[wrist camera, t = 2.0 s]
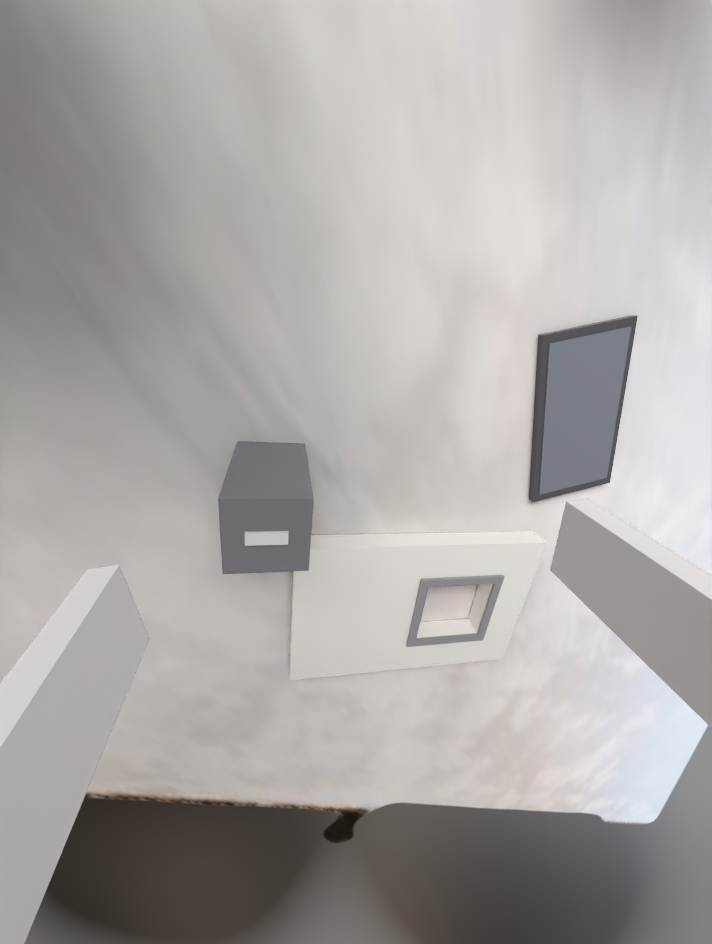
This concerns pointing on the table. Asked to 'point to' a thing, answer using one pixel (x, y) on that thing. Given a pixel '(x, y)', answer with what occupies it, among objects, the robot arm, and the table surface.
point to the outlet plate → (406, 600)
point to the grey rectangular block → (266, 509)
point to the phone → (578, 405)
